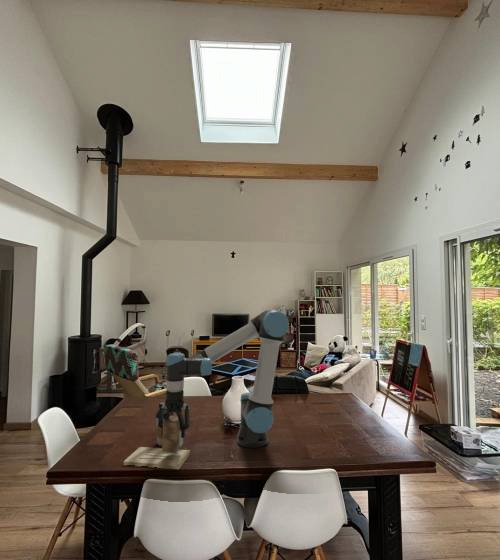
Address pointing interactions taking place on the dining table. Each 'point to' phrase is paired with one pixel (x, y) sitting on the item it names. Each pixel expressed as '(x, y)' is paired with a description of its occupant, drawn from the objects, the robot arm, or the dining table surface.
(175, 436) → the block
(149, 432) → the dining table surface
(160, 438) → the coffee cup
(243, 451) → the dining table surface
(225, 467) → the dining table surface
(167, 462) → the board
